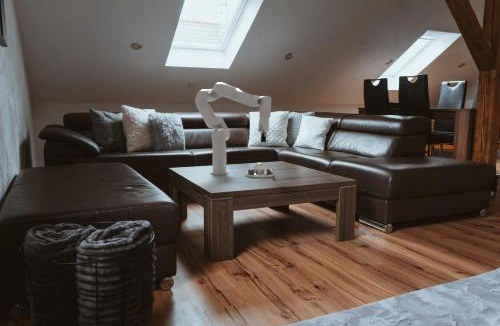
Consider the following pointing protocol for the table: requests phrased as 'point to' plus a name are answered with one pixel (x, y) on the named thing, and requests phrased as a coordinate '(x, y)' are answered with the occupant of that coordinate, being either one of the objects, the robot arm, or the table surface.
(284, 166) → the table surface
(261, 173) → the tribrach
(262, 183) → the table surface
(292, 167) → the table surface
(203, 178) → the table surface
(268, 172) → the footscrew knob
